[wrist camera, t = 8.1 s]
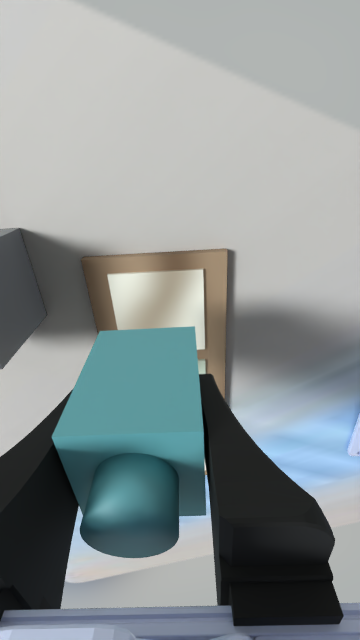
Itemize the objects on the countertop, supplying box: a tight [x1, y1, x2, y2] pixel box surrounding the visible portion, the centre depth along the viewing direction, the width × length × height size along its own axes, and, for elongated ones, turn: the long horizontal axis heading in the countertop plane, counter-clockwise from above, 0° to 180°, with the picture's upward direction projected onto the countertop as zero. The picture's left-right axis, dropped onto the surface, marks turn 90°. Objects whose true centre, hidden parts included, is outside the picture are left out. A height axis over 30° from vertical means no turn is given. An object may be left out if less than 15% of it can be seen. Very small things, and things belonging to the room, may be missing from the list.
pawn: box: [52, 326, 206, 558], centre depth 12 cm, size 4×4×8 cm
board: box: [81, 249, 227, 475], centre depth 24 cm, size 9×22×1 cm, turn 3°
